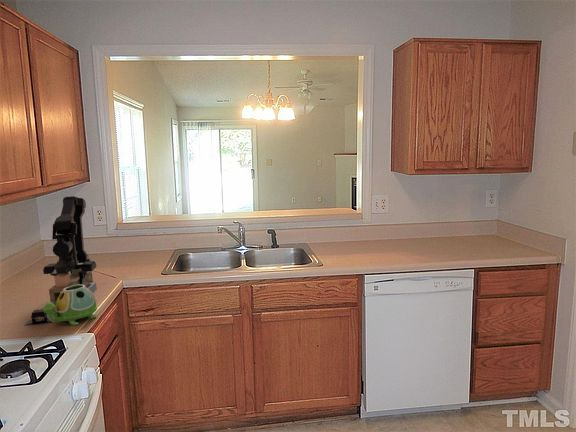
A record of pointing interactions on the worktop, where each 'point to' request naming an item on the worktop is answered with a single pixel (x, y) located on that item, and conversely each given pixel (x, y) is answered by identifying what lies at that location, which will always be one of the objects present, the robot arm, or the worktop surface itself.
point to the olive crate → (76, 270)
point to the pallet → (75, 280)
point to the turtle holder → (72, 305)
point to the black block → (38, 320)
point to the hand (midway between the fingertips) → (72, 287)
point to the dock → (90, 286)
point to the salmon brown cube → (62, 280)
